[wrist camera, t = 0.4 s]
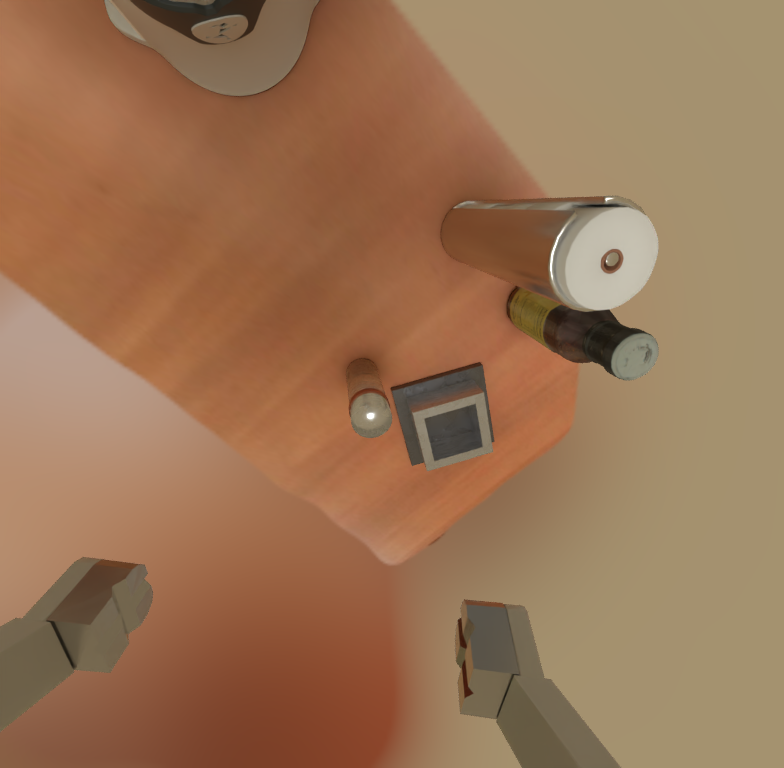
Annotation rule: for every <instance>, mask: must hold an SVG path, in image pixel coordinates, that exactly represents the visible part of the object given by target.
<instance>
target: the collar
mask: <svg viewBox="0 0 784 768" xmlns="http://www.w3.org/2000/svg"><path fill="white" fill-rule="evenodd" d="M391 390H392V394H393V398H394V402H395V405H396V409H397V413H398V416H399V420H400V424H401V427H402V431H403V435H404V439H405V442H406V446H407V450H408V453H409V457H410V461H411V464H412V466H413V465H417V464H420V463H423V462H424V464H425V467H426V470H427V471H430V470H433V469H437V468H440V467H443V466H447V465H450V464H454V463H457V462H460V461H464V460H467V459H471V458H474V457H477V456H481V455H484V454H488V453H491V452H493V448H492V442H494V437H493V430H492V423H491V417H490V410H489V404H488V397H487V391H486V384H485V378H484V371H483V365H482V364H481V363H476V364H473V365H469V366H466V367H462V368H459V369H455V370H452V371H448V372H445V373H441V374H438V375H434V376H431V377H427V378H424V379H420V380H417V381H413V382H410V383H406V384H403V385H399V386H396V387H392V388H391Z"/></svg>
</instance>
